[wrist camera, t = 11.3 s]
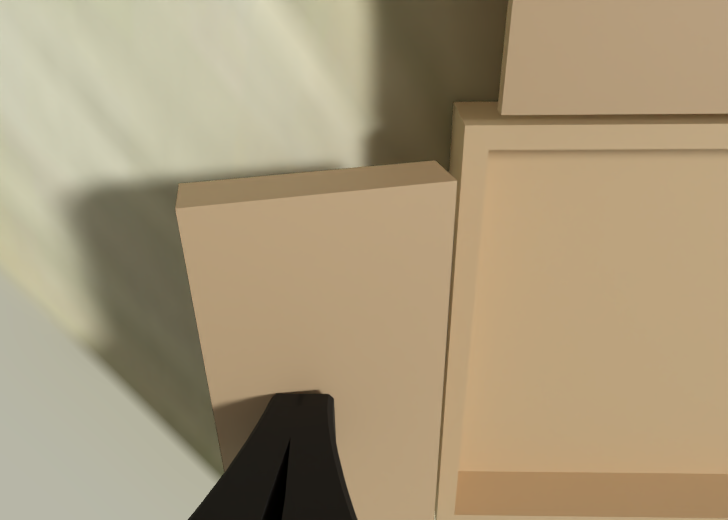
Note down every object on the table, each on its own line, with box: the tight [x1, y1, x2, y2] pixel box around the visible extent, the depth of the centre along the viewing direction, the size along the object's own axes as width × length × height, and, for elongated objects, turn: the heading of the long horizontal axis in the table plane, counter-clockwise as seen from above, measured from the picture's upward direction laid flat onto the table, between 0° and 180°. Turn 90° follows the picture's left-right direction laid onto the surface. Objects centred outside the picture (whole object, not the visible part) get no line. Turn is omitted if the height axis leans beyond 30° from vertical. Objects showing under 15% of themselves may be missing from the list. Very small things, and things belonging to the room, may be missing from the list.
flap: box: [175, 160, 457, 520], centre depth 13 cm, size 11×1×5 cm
